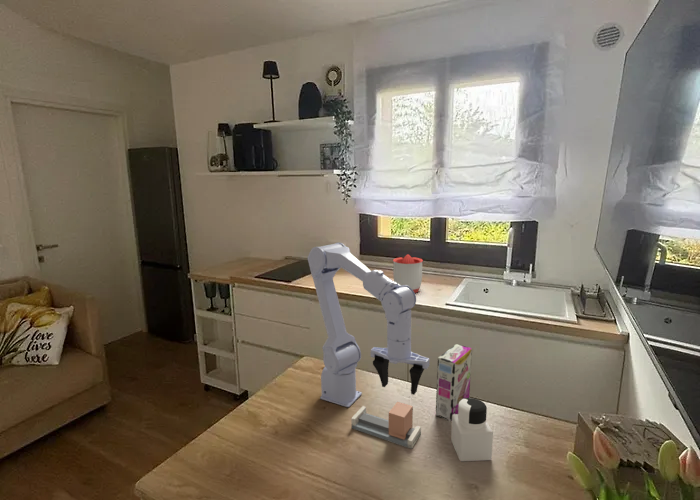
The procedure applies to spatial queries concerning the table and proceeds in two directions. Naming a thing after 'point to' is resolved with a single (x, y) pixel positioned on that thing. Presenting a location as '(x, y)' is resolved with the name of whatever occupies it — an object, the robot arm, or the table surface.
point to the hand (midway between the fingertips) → (399, 388)
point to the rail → (382, 428)
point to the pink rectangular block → (400, 420)
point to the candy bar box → (453, 380)
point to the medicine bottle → (472, 431)
